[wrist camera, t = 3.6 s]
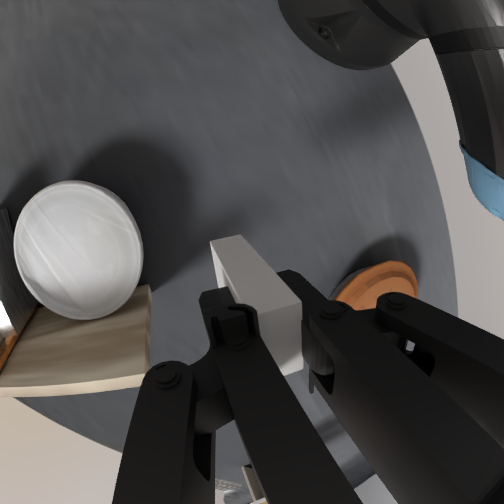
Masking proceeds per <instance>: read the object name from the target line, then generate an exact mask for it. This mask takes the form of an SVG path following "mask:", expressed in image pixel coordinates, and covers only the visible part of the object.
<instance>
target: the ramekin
mask: <svg viewBox="0 0 504 504" xmlns="http://www.w3.org/2000/svg"><path fill="white" fill-rule="evenodd" d="M14 254H15V260H16V264H17V267H18V270H19V273H20V275H21V277H22V279H23V281H24V283H25V285H26V286H27V288H28V289H29V291H30V292H31V293H32V294H33V296H34V297H35V298H36V299H37V300H38V301H39V302H40V303H42V304H43V305H44V306H45V307H47V308H48V309H50V310H51V311H53V312H55V313H57V314H59V315H62V316H64V317H68V318H71V319H77V320H91V319H97V318H101V317H104V316H107V315H109V314H111V313H113V312H114V311H116V310H118V309H119V308H120V307H121V306H122V305H123V304H124V303H126V301H127V300H128V299H129V298H130V296H131V295H132V293H133V292H134V290H135V288H136V286H137V284H138V282H139V279H140V275H141V271H142V266H143V243H142V238H141V234H140V231H139V228H138V226H137V224H136V221H135V219H134V217H133V216H132V214H131V212H130V211H129V208H128V207H127V206H126V204H125V203H124V202H123V201H122V200H121V199H120V198H119V197H118V196H117V195H115V194H114V193H113V192H111V191H109V190H108V189H106V188H103V187H102V186H98V185H96V184H93V183H90V182H86V181H79V180H69V181H62V182H58V183H55V184H52V185H50V186H48V187H46V188H44V189H42V190H41V191H40V192H38V193H37V194H36V195H34V196H33V197H32V198H31V199H30V200H29V202H28V203H27V204H26V205H25V207H24V208H23V210H22V211H21V214H20V216H19V218H18V221H17V224H16V228H15V233H14Z"/></svg>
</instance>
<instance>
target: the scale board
mask: <svg viewBox="0 0 504 504" xmlns="http://www.w3.org/2000/svg"><path fill="white" fill-rule="evenodd" d="M151 298H152V292H151V289H150V286H149V284H146V285H142V286H137V287H136V288H135V290H134V292H133V293H132V295H131V296H130V298H129V299H128V300H127V301H126V303H124V304H123V305H122V306H121V307H120V308H119V309H118V310H116V311H114V312H113V313H111V314H109V315H107V316H104V317H101V318H97V319H91V320H77V319H71V318H68V317H64V316H62V315H59V314H57V313H55V312H53V311H51V310H50V309H48V308H47V307H41V308H36V309H35V310H34V312H33V313H32V315H31V316H30V318H29V320H28V321H27V323H26V325H25V326H24V328H23V330H22V331H21V333H20V335H19V336H18V338H17V340H16V342H15V343H14V345H13V347H12V349H11V351H10V353H9V354H8V356H7V358H6V360H5V362H4V364H3V366H2V368H1V370H0V397H35V396H57V395H71V394H83V393H93V392H102V391H110V390H117V389H124V388H131V387H137V386H141V384H142V380H143V378H144V376H145V374H146V372H147V371H148V370H150V319H151ZM5 339H6V338H3V336H2V334H1V332H0V347H1V345H2V344H3V342H4V340H5Z"/></svg>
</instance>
